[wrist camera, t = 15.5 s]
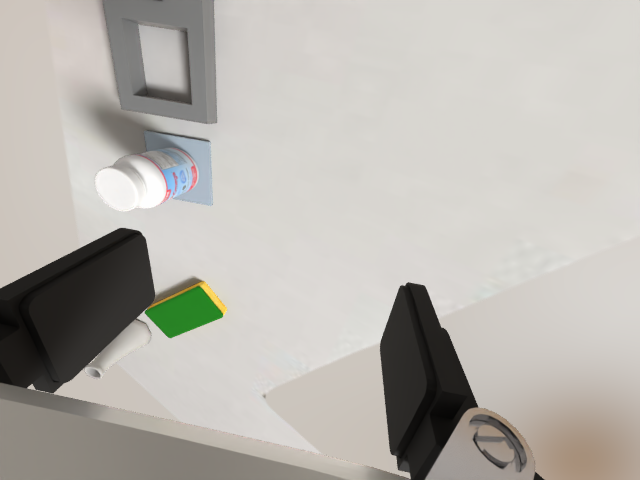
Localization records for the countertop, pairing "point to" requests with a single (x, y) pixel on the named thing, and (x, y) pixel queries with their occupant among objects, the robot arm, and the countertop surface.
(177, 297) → the dish sponge
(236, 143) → the countertop surface
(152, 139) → the slate mat
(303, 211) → the countertop surface
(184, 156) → the pill bottle
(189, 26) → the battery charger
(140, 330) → the flask
